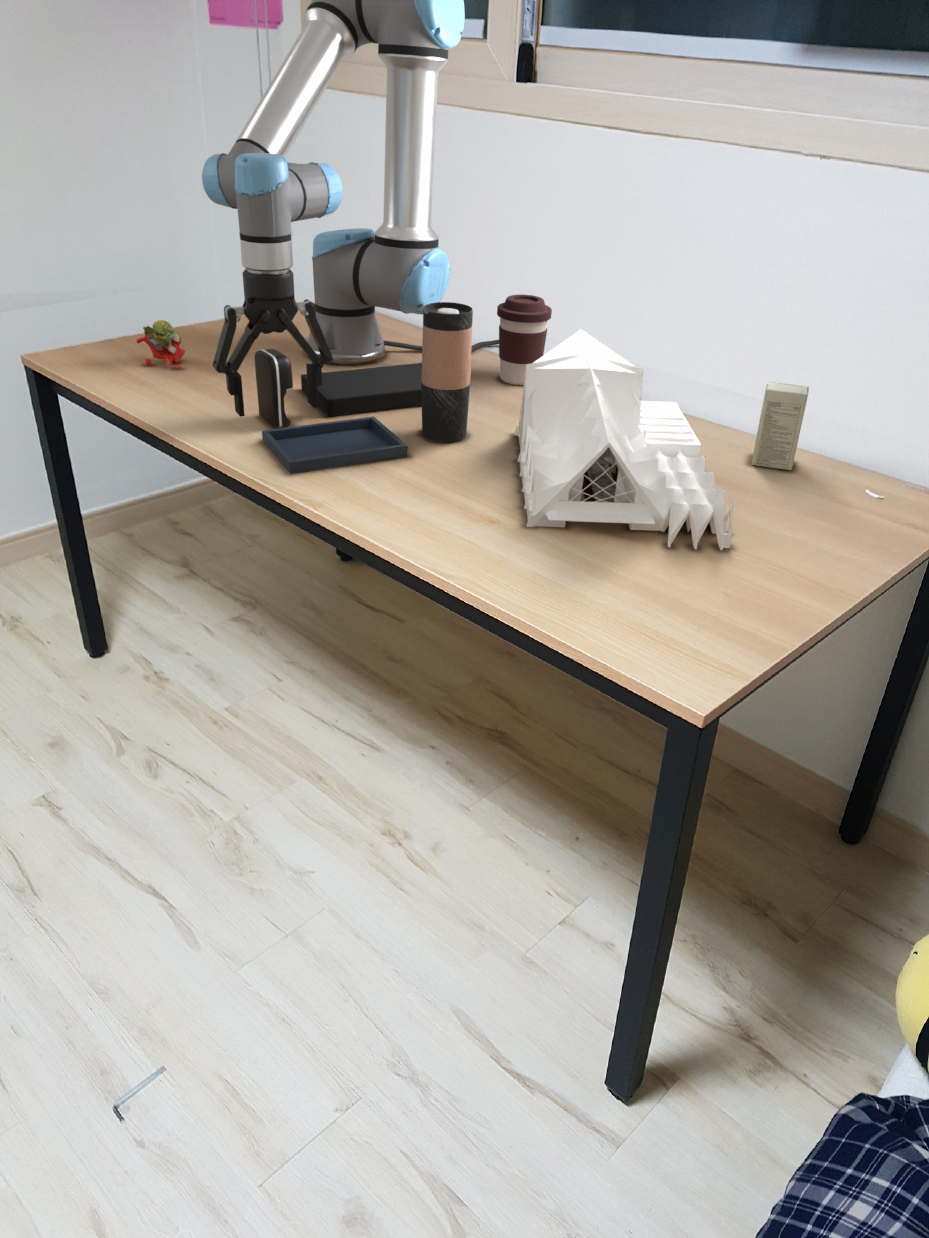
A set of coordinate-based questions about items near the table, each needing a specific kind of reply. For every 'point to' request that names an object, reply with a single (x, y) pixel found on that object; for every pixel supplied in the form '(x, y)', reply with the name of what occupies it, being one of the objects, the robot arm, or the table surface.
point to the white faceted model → (638, 440)
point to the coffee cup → (521, 335)
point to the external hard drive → (368, 389)
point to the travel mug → (446, 370)
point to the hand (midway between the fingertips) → (277, 409)
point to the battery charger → (273, 385)
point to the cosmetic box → (780, 425)
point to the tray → (333, 444)
